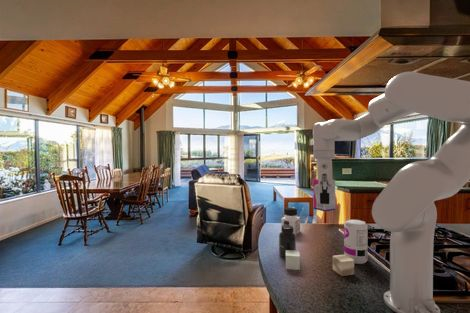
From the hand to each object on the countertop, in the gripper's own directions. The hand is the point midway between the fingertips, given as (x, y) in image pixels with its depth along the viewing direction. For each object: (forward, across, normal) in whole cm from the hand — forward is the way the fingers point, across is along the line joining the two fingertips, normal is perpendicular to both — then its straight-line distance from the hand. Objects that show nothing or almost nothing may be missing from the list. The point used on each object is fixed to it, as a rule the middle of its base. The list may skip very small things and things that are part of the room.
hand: (324, 201), depth 94 cm
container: (+24, +33, +16) cm, 44 cm away
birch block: (+24, -5, -6) cm, 25 cm away
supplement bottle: (+24, +3, +14) cm, 28 cm away
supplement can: (+24, +7, -12) cm, 28 cm away
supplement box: (+3, 0, 0) cm, 3 cm away
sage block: (+24, -6, +12) cm, 27 cm away
